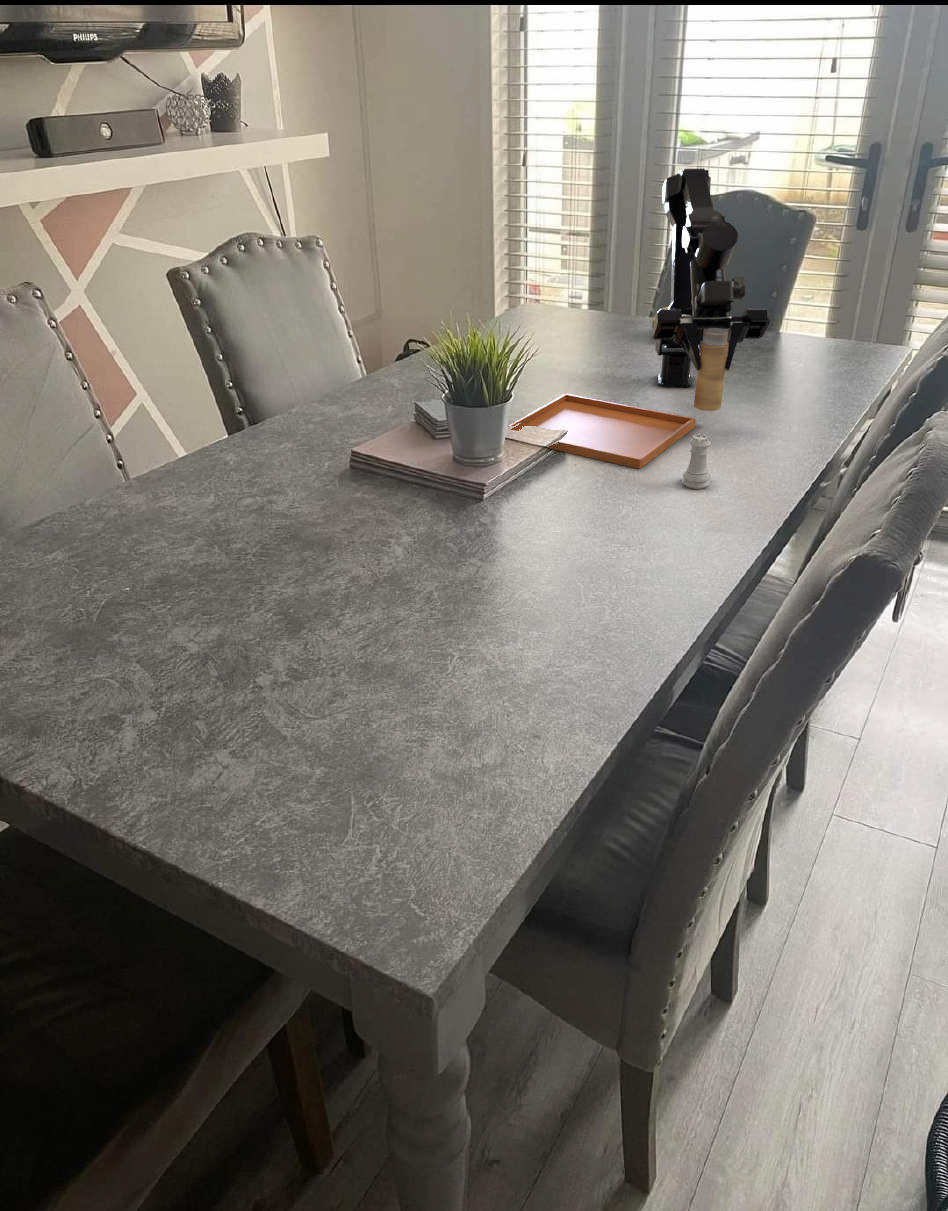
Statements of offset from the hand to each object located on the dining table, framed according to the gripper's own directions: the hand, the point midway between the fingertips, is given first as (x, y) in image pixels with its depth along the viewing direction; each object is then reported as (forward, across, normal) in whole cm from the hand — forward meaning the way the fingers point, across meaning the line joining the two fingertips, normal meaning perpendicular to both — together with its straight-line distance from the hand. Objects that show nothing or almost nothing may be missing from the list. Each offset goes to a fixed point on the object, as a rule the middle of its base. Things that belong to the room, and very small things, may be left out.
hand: (713, 369), depth 161 cm
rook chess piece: (+22, -4, -2) cm, 22 cm away
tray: (+5, -18, +14) cm, 23 cm away
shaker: (+4, 0, +6) cm, 7 cm away
